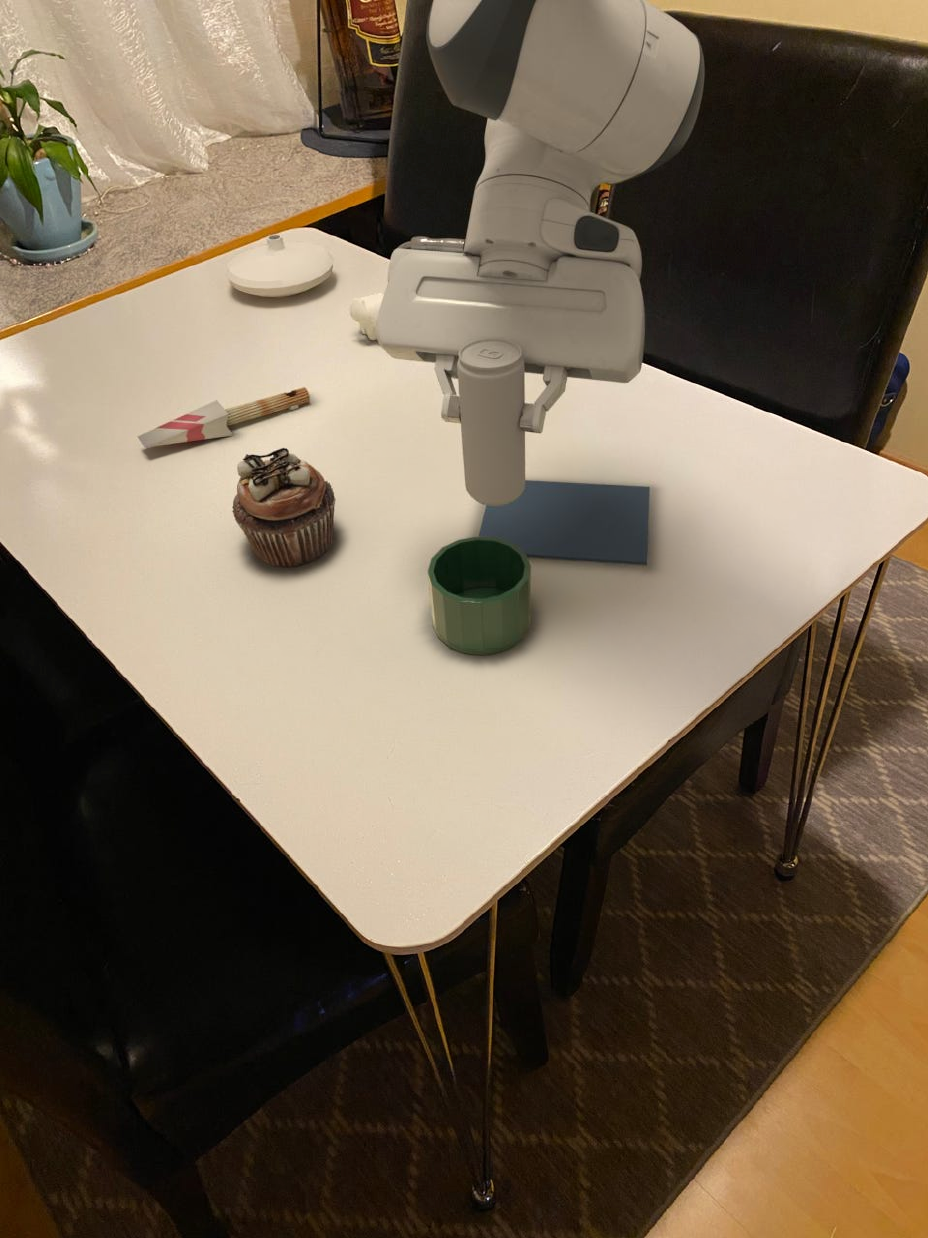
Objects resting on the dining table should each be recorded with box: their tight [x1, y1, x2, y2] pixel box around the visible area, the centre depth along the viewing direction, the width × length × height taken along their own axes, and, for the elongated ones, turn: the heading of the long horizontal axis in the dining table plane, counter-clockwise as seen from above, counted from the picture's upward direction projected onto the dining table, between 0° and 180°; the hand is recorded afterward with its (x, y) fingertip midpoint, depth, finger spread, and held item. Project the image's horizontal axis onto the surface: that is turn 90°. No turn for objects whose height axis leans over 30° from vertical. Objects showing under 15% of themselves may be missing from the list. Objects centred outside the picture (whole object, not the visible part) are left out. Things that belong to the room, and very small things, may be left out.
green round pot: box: [427, 535, 532, 656], centre depth 76 cm, size 8×8×6 cm
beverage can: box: [457, 338, 526, 506], centre depth 68 cm, size 5×5×12 cm
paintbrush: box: [137, 386, 311, 448], centre depth 103 cm, size 4×3×20 cm
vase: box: [225, 233, 334, 298], centre depth 130 cm, size 16×16×7 cm
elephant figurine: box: [349, 292, 384, 341], centre depth 117 cm, size 7×8×6 cm
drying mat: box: [478, 479, 650, 566], centre depth 88 cm, size 16×12×1 cm
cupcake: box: [231, 447, 337, 568], centre depth 84 cm, size 10×10×10 cm
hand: (491, 426), depth 67 cm, fingers closed on beverage can, 5 cm apart
